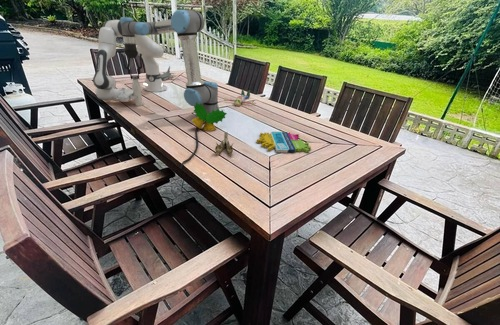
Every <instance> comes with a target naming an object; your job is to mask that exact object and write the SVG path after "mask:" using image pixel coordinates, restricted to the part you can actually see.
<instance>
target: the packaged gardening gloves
mask: <svg viewBox="0 0 500 325" xmlns="http://www.w3.org/2000/svg"><path fill="white" fill-rule="evenodd" d="M299 136H300V135H299V134H298V133H296V134H294V133H291V132H287V131H270V132H264V133H263V132H260V133H259V139H258V138H257V139H256V143H257V144H261V148H263V147H264V148H265V149H267V151H268V152H271V151H272V150H273V149H275V152H276V153H283V154H285V153H287V154H288V153H290V154H293V153H296V152H298V153H301V152H305V153H310V151H311V150H312V149H311V148H312V146H309V142H304V141H303V139H302V138H299Z"/></svg>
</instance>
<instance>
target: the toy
mask: <svg viewBox="0 0 500 325" xmlns="http://www.w3.org/2000/svg"><path fill="white" fill-rule="evenodd" d="M240 92H241V93H240V95H238V96H237V97H235V99H233V98H230V99H228V98H227V97H226V96H225V97H224V98H223V101H224V102H233V103H232V104H233V105H235V106H242V103H243V104H247V105H252V106H255V105H256V104H257V103H256V102H254V101H253V100H252V101H251V102H250V101H248V100H246V99H248V98H250V97H251V90H250V89H249V90H248V91H247V92H246V93H245V91H244V89H242V90H241V91H240Z"/></svg>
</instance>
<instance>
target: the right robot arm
mask: <svg viewBox="0 0 500 325" xmlns="http://www.w3.org/2000/svg"><path fill="white" fill-rule="evenodd" d="M119 20H120V21H121V28H122V34H123V37H122V41H123V43H124V44H123V47H124V52H121V53H120V56H121V58H122V62H123V67H124V69H125V70H127V74H128V75H129V76H130V77H129V78H130V80H133V79H132V75H133V74H132V70H131V68H130V66H131V59H133V60H134V63H135V65H136V67H137V69H136V71H137V73H136V74H137V75H138V80H140V75H141V69H143V59H142V54H141V53H138V51H137V45H136V44H135V43H136V40H135V34H136V35H141V36H142V35H143V36H144V35H147V36H152V35H153V36H154V35H155V36H159V35H162V34H170V33H176V35H177V36H176V37H177V38H178V39H179V40H180V43H181V44H180V45H181V50H182V56H183V62H184V68H185V74H186V80H187V82H186V83H185V88H186V89H184V92H183V98H184V100H185V102H186V103H187V104H188V105H189V106H191V107H194V106H196V102H197V103H198V104H201V106H204V109H206V112H208V113H211V112H212V110H214V111H216V110H217V109H219V111H221V110H220V108H219V102H218V99H219V98H218V97H219V87H218V83H217V82H214V81H208V80H202V76H201V69H200V60H199V53H198V47H197V41H196V40H197V37H198V33H199V32H202V30H204V27H205V23H206V22H205V18H204V16H203V15H202V13H201V12H199V11H198V10H192V9H191V10H189V9H177V10H175V11H174V12H173V13H172V14H171V18H170V19H164V20H157V21H134V20H133V18H132V17H129V16H127V17H126V16H121V17H120V18H119ZM125 56H126V57H127V62H126V57H125ZM137 56H138V57H139V62H138V59H137ZM208 113H207V115H208ZM203 125H205V121H204V123H203ZM195 127H196V128H195V132H194V133H195V140H196V141H195V142H196V144H195V149H194V151H193V152H192V154H191V155H190V156H189V157H188V158H187V159H184V160H183V161H182V162H181V164H180V166H179V168H180V169H182V168H183V166H184V164H185V163H187V162H189V161H190V160H191V159H192V158H193V157H194V155H195V154H196V152H197V150H198V148H199V138H198V129H199V128H198V127H197V126H195Z"/></svg>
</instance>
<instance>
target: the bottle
mask: <svg viewBox="0 0 500 325" xmlns="http://www.w3.org/2000/svg"><path fill="white" fill-rule="evenodd" d="M131 88H132V90H133V95H134V96H138V98H137V99H133V101H134V106H136V107H137V106H138V107H140V106H143V105H144V102H143V95H142V88H141V83H140V81H139V79H132V83H131Z"/></svg>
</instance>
